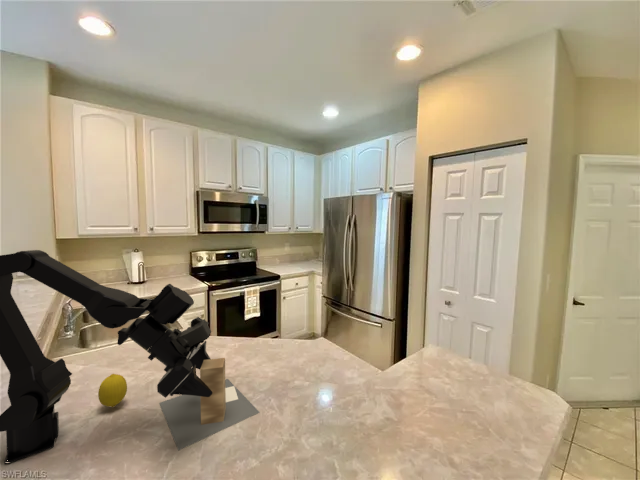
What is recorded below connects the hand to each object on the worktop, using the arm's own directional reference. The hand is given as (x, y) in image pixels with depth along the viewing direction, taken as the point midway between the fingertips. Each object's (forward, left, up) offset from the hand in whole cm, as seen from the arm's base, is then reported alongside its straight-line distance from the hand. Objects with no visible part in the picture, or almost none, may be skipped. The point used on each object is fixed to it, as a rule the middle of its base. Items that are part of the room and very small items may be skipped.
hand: (214, 383), depth 62 cm
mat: (0, +4, -8) cm, 9 cm away
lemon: (-17, +20, -8) cm, 28 cm away
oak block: (0, 0, -7) cm, 8 cm away
